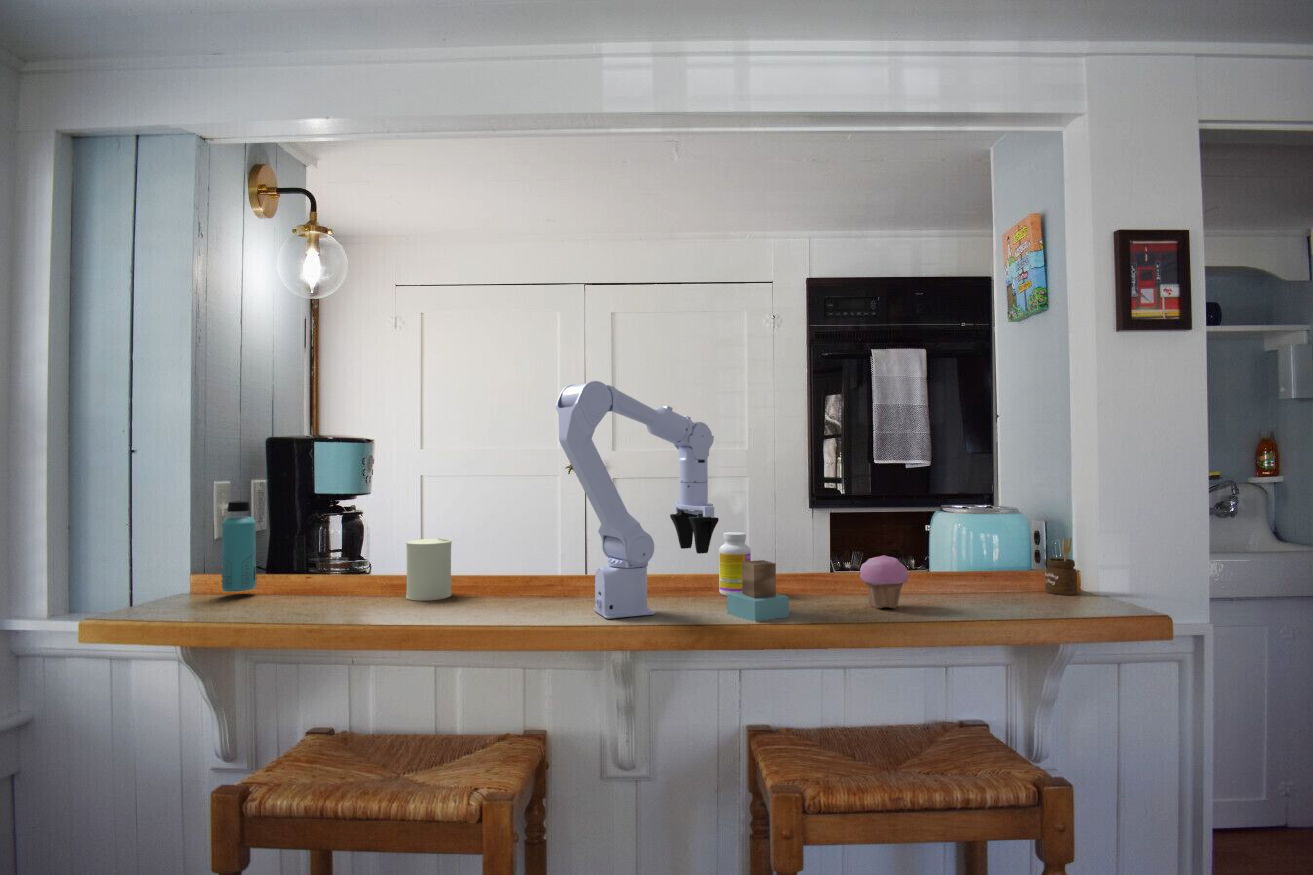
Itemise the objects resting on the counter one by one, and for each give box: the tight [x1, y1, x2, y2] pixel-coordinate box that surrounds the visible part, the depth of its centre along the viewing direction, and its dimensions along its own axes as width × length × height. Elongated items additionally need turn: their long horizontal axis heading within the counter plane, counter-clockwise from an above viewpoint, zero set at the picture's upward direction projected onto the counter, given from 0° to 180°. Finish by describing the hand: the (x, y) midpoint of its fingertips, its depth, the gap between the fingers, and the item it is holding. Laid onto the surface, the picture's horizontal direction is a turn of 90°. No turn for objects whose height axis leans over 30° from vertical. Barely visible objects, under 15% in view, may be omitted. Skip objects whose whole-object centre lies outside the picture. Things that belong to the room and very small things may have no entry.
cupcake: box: [859, 554, 909, 610], centre depth 141 cm, size 9×9×10 cm
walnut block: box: [742, 559, 777, 598], centre depth 135 cm, size 4×4×6 cm
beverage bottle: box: [220, 500, 258, 593], centre depth 154 cm, size 6×7×20 cm
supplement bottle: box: [718, 531, 752, 597], centre depth 155 cm, size 7×7×13 cm
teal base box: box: [726, 592, 790, 622], centre depth 135 cm, size 8×8×4 cm
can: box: [405, 538, 453, 602], centre depth 154 cm, size 9×9×12 cm
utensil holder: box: [1044, 537, 1078, 596], centre depth 155 cm, size 6×6×12 cm
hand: (693, 550), depth 146 cm, fingers open, 7 cm apart
